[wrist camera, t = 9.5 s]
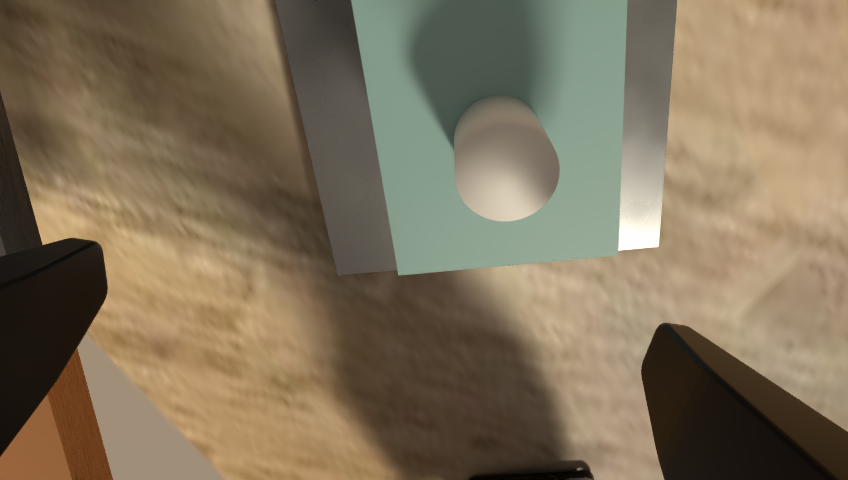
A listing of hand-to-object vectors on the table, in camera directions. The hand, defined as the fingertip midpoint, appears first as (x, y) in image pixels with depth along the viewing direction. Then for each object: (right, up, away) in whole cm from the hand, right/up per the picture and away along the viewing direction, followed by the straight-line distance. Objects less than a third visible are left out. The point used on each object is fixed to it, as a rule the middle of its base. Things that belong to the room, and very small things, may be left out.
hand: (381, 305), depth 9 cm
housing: (+2, +6, +9) cm, 11 cm away
